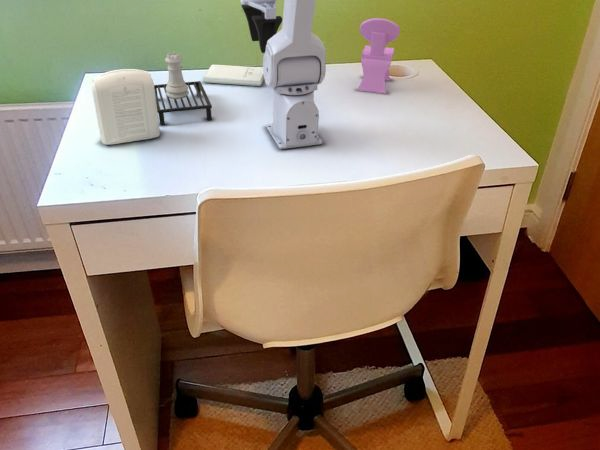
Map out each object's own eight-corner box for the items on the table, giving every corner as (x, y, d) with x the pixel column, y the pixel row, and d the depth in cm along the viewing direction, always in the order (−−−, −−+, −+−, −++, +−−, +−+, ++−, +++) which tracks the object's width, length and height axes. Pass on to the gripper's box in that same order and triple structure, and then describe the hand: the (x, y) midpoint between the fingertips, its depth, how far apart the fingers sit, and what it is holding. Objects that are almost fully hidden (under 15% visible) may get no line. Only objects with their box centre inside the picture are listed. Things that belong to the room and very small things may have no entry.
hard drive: (212, 70, 127) (266, 73, 126) (204, 83, 120) (260, 86, 120) (212, 63, 126) (266, 66, 125) (203, 76, 119) (260, 79, 119)
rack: (212, 120, 105) (211, 105, 103) (159, 126, 102) (157, 111, 101) (201, 94, 115) (200, 80, 113) (152, 99, 112) (150, 85, 111)
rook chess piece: (170, 90, 109) (165, 49, 104) (192, 91, 108) (188, 51, 104) (162, 98, 105) (157, 57, 101) (185, 100, 105) (181, 59, 100)
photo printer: (157, 128, 101) (148, 62, 94) (163, 138, 98) (154, 70, 91) (99, 137, 98) (86, 69, 91) (103, 148, 95) (89, 78, 88)
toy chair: (394, 80, 125) (403, 11, 117) (391, 94, 118) (400, 22, 110) (358, 76, 127) (364, 8, 118) (352, 89, 120) (359, 18, 111)
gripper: (232, -33, 109) (234, 36, 117) (249, -17, 98) (251, 59, 106) (266, -34, 111) (266, 34, 119) (287, -18, 100) (286, 56, 108)
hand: (261, 46), depth 113 cm, fingers open, 7 cm apart
